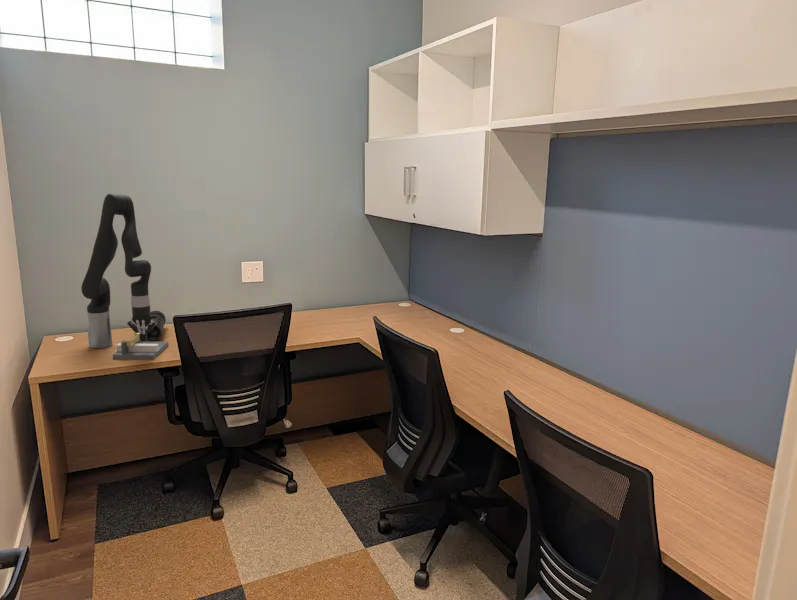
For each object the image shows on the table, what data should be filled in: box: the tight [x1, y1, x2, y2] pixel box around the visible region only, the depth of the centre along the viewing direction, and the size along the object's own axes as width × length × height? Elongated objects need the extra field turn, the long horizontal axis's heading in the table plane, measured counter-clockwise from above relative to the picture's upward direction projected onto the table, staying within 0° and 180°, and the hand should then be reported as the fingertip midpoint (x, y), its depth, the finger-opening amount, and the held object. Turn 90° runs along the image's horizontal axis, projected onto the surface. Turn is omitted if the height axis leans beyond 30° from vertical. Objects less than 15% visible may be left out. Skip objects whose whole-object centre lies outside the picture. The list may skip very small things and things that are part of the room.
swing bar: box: [125, 332, 140, 346], centre depth 261 cm, size 13×3×3 cm, turn 3°
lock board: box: [112, 340, 170, 360], centre depth 264 cm, size 18×20×8 cm
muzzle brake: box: [146, 310, 166, 341], centre depth 288 cm, size 10×28×10 cm, turn 18°
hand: (143, 341), depth 257 cm, fingers closed
